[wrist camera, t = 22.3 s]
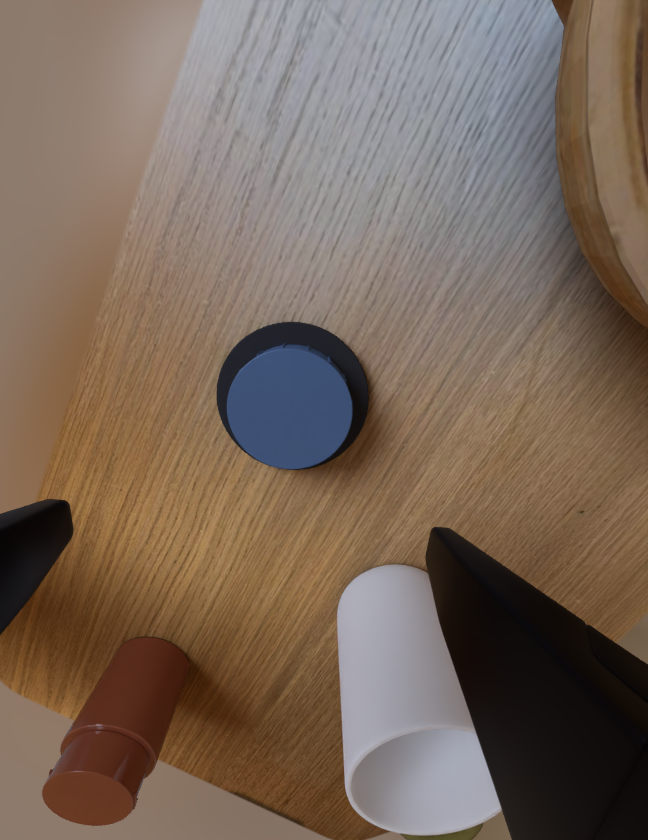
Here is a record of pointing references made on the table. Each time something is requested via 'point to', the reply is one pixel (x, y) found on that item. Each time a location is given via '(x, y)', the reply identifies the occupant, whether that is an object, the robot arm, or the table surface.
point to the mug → (406, 711)
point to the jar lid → (290, 407)
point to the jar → (118, 734)
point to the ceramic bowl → (606, 141)
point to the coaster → (306, 337)
